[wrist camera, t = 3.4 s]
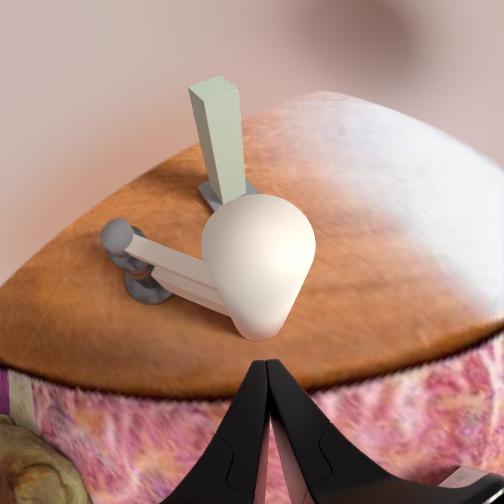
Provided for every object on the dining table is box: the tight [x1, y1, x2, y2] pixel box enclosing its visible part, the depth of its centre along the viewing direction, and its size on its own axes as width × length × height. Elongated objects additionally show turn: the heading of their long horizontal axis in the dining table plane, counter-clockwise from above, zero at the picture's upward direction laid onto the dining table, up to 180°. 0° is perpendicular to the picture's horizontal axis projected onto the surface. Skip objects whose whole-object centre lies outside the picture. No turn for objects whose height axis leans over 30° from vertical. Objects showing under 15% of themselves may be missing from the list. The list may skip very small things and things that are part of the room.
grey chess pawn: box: [107, 226, 174, 305], centre depth 17 cm, size 4×4×5 cm
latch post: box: [188, 75, 259, 212], centre depth 17 cm, size 4×4×10 cm
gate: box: [101, 194, 315, 342], centre depth 13 cm, size 10×3×11 cm, turn 69°
